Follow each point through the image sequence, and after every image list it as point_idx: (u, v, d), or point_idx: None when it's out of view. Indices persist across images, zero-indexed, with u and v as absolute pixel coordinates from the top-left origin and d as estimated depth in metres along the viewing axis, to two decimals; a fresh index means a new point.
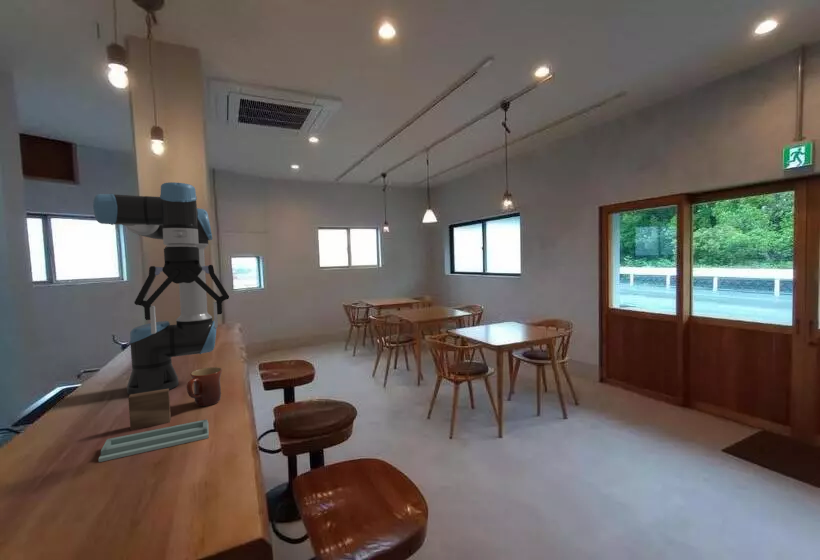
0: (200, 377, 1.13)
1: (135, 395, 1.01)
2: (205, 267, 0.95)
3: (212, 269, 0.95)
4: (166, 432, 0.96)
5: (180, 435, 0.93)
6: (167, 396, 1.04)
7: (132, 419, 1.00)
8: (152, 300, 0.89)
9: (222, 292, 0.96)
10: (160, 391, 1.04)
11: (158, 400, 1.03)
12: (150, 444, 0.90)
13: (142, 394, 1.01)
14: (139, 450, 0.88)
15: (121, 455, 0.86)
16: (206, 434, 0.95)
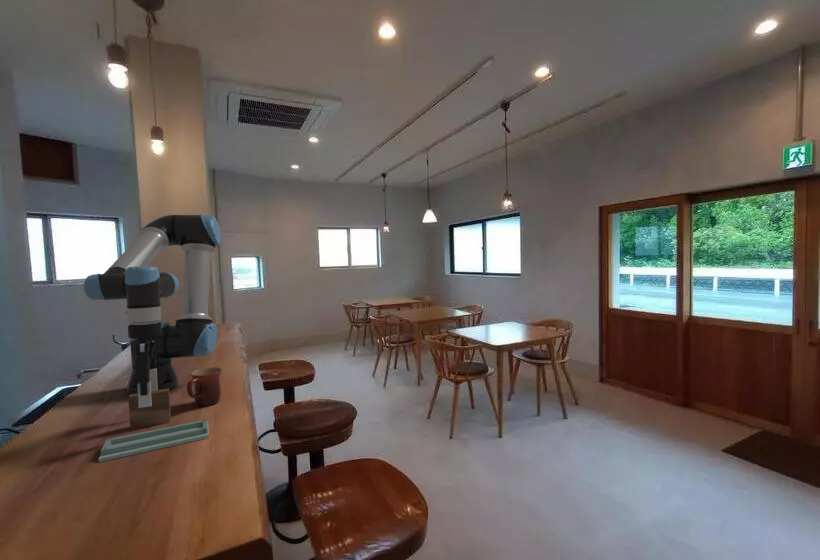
0: (200, 377, 1.13)
1: (135, 395, 1.01)
2: None
3: (136, 349, 0.95)
4: (166, 432, 0.96)
5: (180, 435, 0.93)
6: (167, 396, 1.04)
7: (132, 419, 1.00)
8: None
9: None
10: (160, 391, 1.04)
11: (158, 400, 1.03)
12: (150, 444, 0.90)
13: None
14: (139, 450, 0.88)
15: (121, 455, 0.86)
16: (206, 434, 0.95)
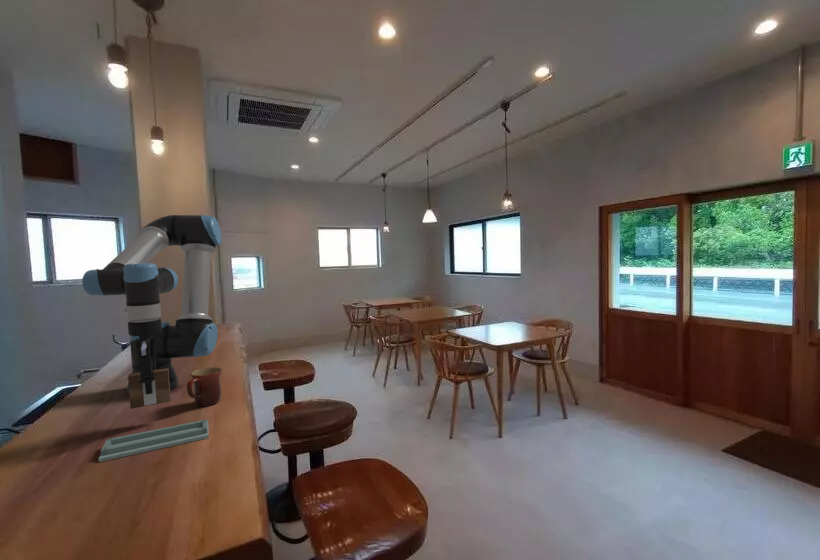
0: (200, 377, 1.13)
1: (134, 374, 1.01)
2: (141, 347, 0.97)
3: None
4: (166, 432, 0.96)
5: (180, 435, 0.93)
6: (167, 376, 1.04)
7: (132, 397, 1.00)
8: None
9: (141, 374, 0.98)
10: (160, 370, 1.04)
11: (158, 379, 1.03)
12: (150, 444, 0.90)
13: None
14: (139, 450, 0.88)
15: (121, 455, 0.86)
16: (206, 434, 0.95)
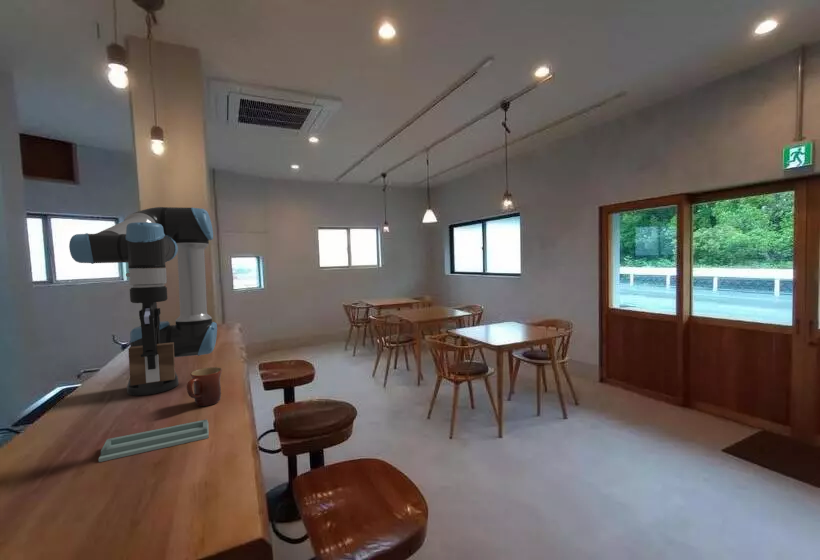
0: (200, 377, 1.13)
1: (136, 347, 0.90)
2: (144, 314, 0.87)
3: None
4: (166, 432, 0.96)
5: (180, 435, 0.93)
6: (172, 350, 0.93)
7: (133, 373, 0.89)
8: None
9: (143, 346, 0.87)
10: (164, 344, 0.93)
11: (162, 353, 0.92)
12: (150, 444, 0.90)
13: None
14: (139, 450, 0.88)
15: (121, 455, 0.86)
16: (206, 434, 0.95)
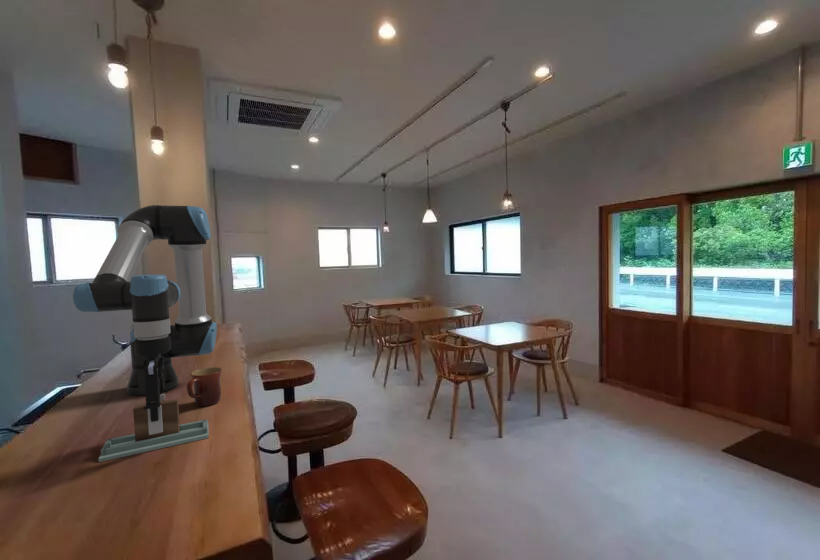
0: (200, 377, 1.13)
1: (140, 406, 0.91)
2: (149, 366, 0.87)
3: None
4: None
5: (180, 435, 0.93)
6: (176, 407, 0.93)
7: (138, 432, 0.90)
8: None
9: (146, 399, 0.86)
10: (168, 401, 0.93)
11: (166, 411, 0.93)
12: (150, 444, 0.90)
13: None
14: (139, 450, 0.88)
15: (121, 455, 0.86)
16: (206, 434, 0.95)
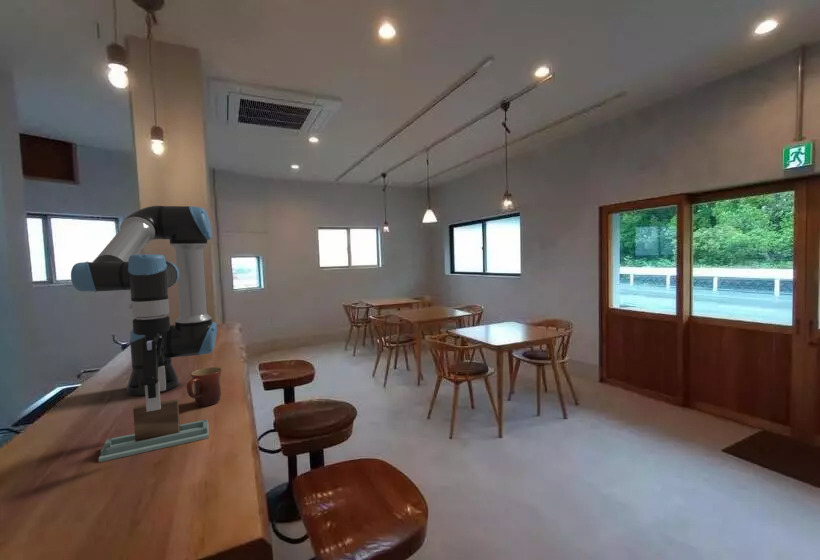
0: (200, 377, 1.13)
1: (140, 406, 0.91)
2: None
3: (143, 347, 0.85)
4: None
5: (180, 435, 0.93)
6: (176, 407, 0.93)
7: (138, 432, 0.90)
8: None
9: None
10: (168, 401, 0.93)
11: (166, 411, 0.93)
12: (150, 444, 0.90)
13: None
14: (139, 450, 0.88)
15: (121, 455, 0.86)
16: (206, 434, 0.95)
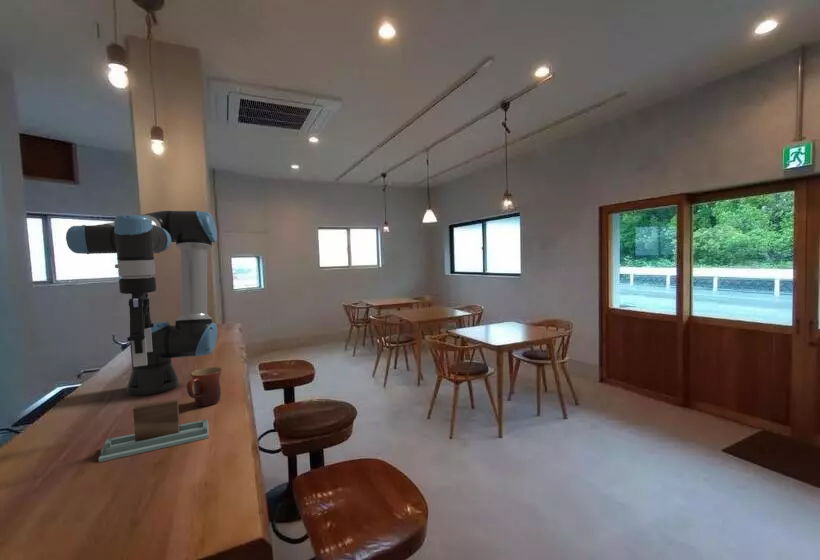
0: (200, 377, 1.13)
1: (140, 406, 0.91)
2: None
3: (129, 304, 0.88)
4: None
5: (180, 435, 0.93)
6: (176, 407, 0.93)
7: (138, 432, 0.90)
8: None
9: None
10: (168, 401, 0.93)
11: (166, 411, 0.93)
12: (150, 444, 0.90)
13: (148, 405, 0.92)
14: (139, 450, 0.88)
15: (121, 455, 0.86)
16: (206, 434, 0.95)
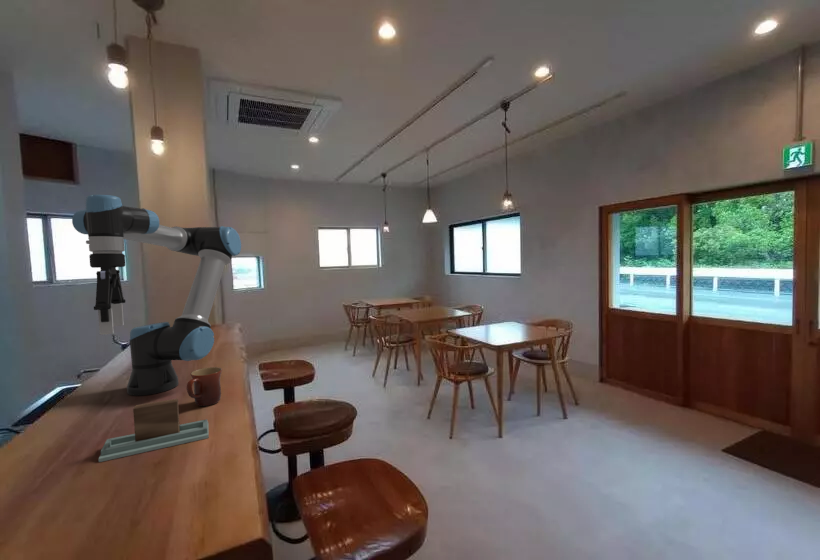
0: (200, 377, 1.13)
1: (140, 406, 0.91)
2: None
3: (97, 276, 0.95)
4: None
5: (180, 435, 0.93)
6: (176, 407, 0.93)
7: (138, 432, 0.90)
8: (110, 298, 1.07)
9: None
10: (168, 401, 0.93)
11: (166, 411, 0.93)
12: (150, 444, 0.90)
13: (148, 405, 0.92)
14: (139, 450, 0.88)
15: (121, 455, 0.86)
16: (206, 434, 0.95)
